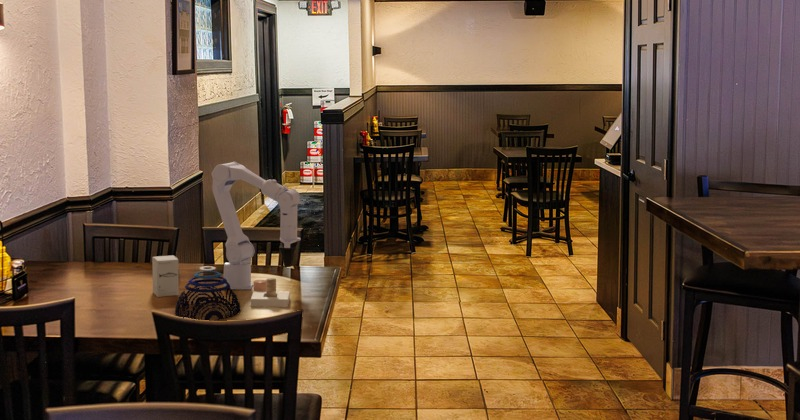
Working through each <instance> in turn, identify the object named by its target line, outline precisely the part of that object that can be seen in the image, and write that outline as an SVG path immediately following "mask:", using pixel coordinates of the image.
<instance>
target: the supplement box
mask: <svg viewBox="0 0 800 420" xmlns="http://www.w3.org/2000/svg"><path fill="white" fill-rule="evenodd" d="M151 259H152V262H151V263H152V266H151V267H152V294H154V295H155V296H156V297H157V298H160V297H161V298H162V297H169V296H170V297H171V296H180V292H179V291H180V289H179V285H180V284H179V259H178V257H177V256H175V255H172V254H171V255H158V256H152V258H151Z"/></svg>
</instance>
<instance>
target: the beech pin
mask: <svg viewBox="0 0 800 420" xmlns="http://www.w3.org/2000/svg"><path fill="white" fill-rule="evenodd" d="M265 280H266V297H276V291H277V278H275V277H268V278H266V279H265Z"/></svg>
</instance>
